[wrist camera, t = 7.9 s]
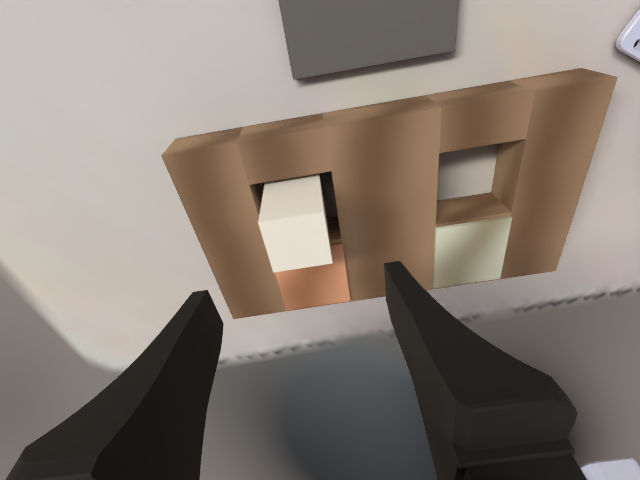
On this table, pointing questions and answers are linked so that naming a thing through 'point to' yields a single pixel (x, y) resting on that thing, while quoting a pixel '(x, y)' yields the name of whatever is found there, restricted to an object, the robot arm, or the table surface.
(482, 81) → the table surface
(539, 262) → the socket block
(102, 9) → the table surface
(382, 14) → the grey square plate
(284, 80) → the table surface
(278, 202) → the plug
